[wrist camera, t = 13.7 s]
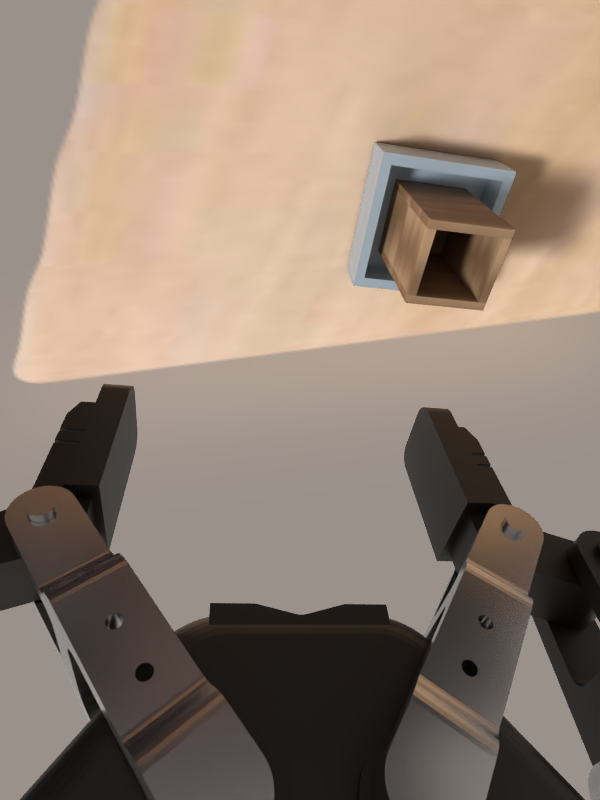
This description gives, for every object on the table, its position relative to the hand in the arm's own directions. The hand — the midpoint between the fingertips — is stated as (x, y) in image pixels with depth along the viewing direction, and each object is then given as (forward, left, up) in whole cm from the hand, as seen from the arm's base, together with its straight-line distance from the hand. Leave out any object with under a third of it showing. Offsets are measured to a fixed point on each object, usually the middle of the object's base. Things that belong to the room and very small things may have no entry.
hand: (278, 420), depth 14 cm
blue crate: (+3, +14, -32) cm, 35 cm away
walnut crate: (+3, +14, -31) cm, 34 cm away
